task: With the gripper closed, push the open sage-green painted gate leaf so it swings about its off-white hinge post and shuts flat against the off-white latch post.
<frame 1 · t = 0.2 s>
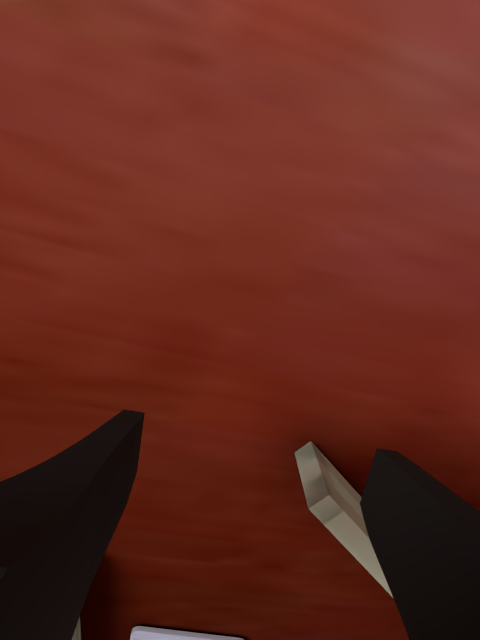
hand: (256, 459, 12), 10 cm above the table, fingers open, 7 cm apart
gate leaf: (384, 552, 22), point 3 cm above the table, hinge at 50.0°
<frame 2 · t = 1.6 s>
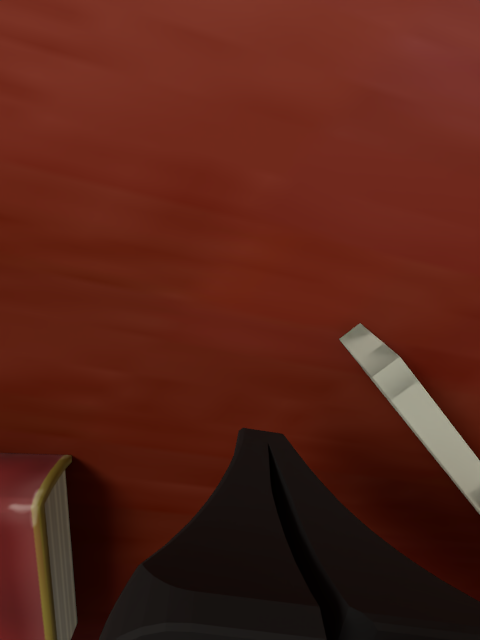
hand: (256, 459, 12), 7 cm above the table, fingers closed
gate leaf: (454, 460, 17), point 3 cm above the table, hinge at 50.0°
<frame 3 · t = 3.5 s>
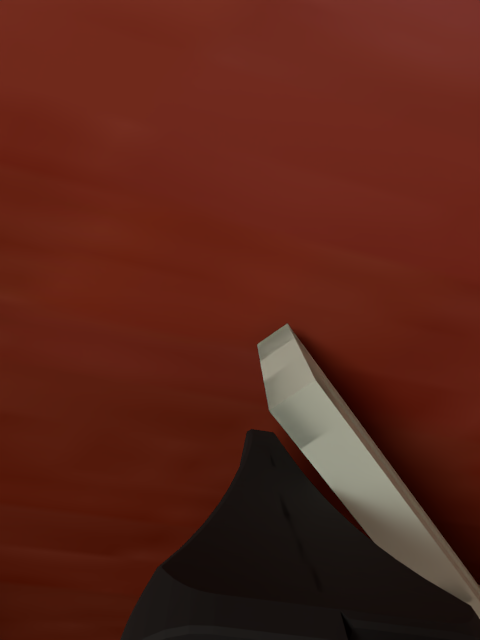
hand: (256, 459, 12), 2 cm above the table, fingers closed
gate leaf: (408, 528, 12), point 3 cm above the table, hinge at 46.8°, touching gripper
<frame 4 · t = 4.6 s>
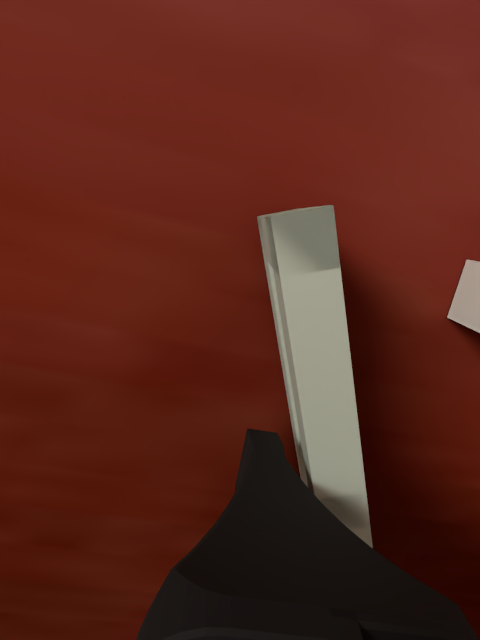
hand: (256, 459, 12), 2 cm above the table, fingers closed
gate leaf: (322, 457, 11), point 3 cm above the table, hinge at 21.0°, touching gripper
gate frame: (332, 586, 16), on the table
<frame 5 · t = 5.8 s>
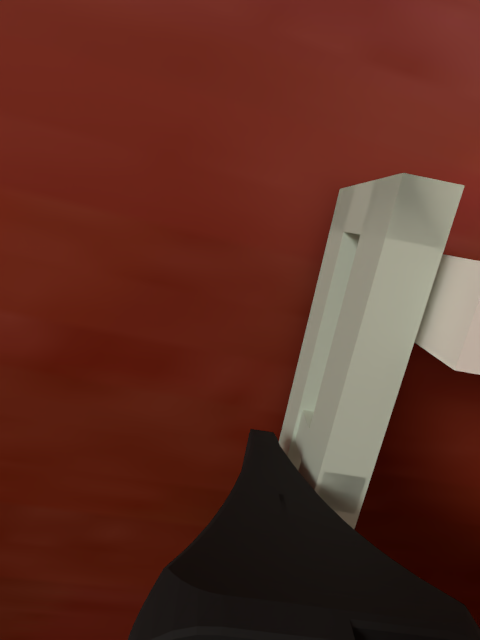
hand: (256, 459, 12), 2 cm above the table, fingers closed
gate leaf: (319, 439, 11), point 3 cm above the table, hinge at -0.2°, touching gripper
gate frame: (257, 576, 16), on the table
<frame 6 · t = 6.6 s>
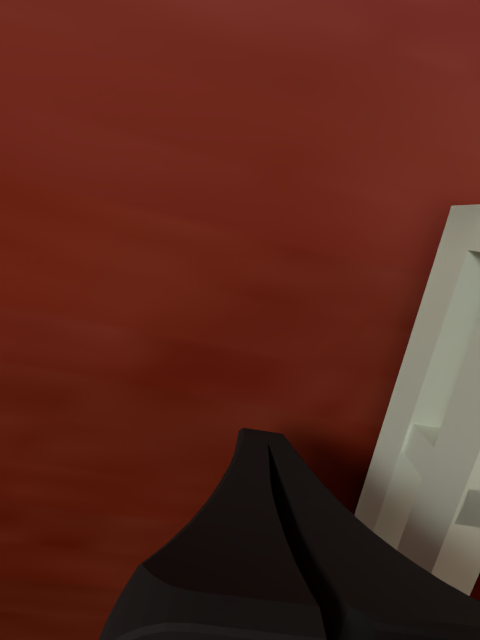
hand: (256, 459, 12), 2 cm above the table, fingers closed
gate leaf: (434, 453, 11), point 3 cm above the table, hinge at -0.3°
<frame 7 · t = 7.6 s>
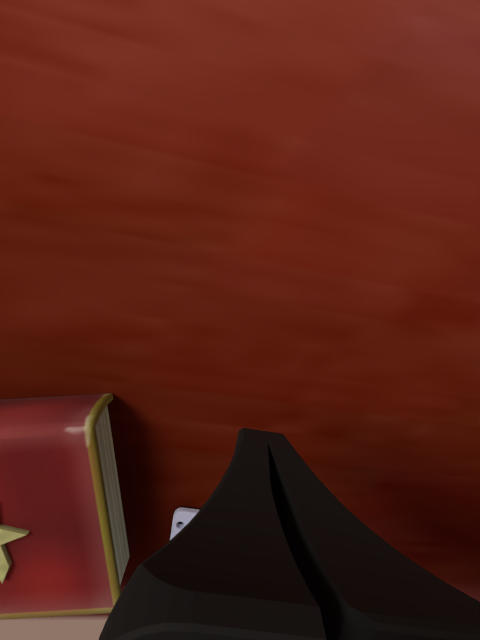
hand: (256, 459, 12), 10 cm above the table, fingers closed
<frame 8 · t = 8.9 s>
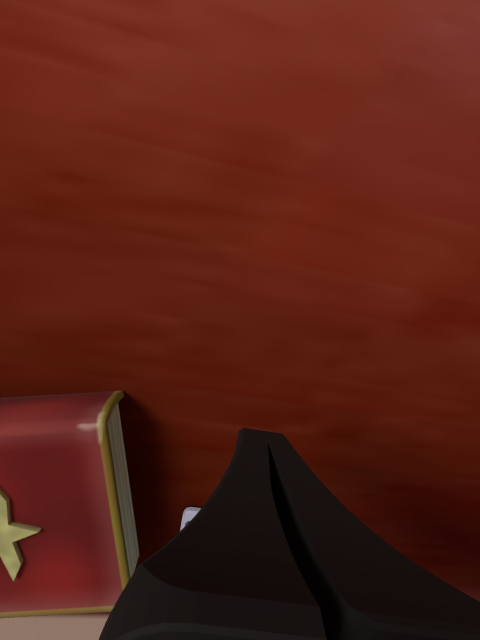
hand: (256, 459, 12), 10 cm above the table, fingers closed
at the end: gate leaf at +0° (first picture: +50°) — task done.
